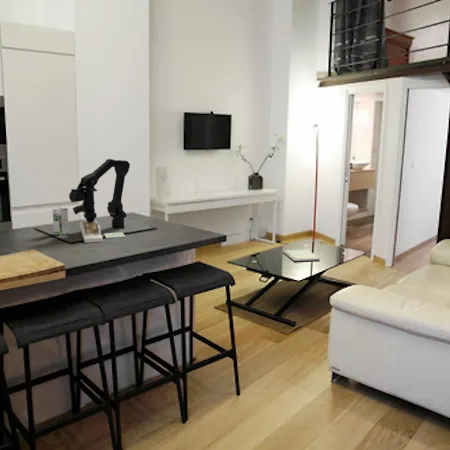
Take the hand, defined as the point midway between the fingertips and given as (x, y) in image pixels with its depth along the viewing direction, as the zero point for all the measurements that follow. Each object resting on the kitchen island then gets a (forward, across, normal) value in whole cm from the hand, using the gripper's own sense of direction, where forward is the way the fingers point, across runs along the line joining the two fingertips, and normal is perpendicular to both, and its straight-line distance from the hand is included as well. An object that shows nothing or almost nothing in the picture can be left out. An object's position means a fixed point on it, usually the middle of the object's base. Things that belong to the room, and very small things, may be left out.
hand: (89, 227), depth 258 cm
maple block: (+1, +6, 0) cm, 6 cm away
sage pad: (+3, +10, +12) cm, 16 cm away
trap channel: (+3, +7, 0) cm, 8 cm away
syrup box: (+3, -3, -15) cm, 16 cm away
